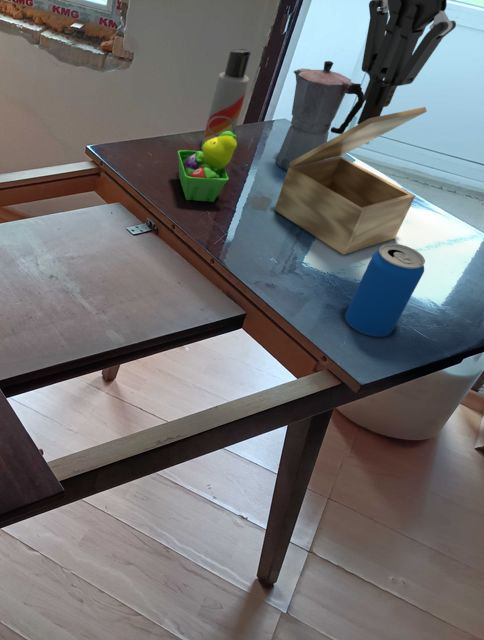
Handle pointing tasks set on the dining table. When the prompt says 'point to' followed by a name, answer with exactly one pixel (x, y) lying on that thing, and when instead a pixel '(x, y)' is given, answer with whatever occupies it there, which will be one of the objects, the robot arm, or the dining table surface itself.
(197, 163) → the fruit basket
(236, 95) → the lotion bottle
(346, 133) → the wooden lid
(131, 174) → the dining table surface
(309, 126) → the moka pot
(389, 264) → the beverage can
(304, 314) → the dining table surface
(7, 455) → the dining table surface
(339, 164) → the chest
